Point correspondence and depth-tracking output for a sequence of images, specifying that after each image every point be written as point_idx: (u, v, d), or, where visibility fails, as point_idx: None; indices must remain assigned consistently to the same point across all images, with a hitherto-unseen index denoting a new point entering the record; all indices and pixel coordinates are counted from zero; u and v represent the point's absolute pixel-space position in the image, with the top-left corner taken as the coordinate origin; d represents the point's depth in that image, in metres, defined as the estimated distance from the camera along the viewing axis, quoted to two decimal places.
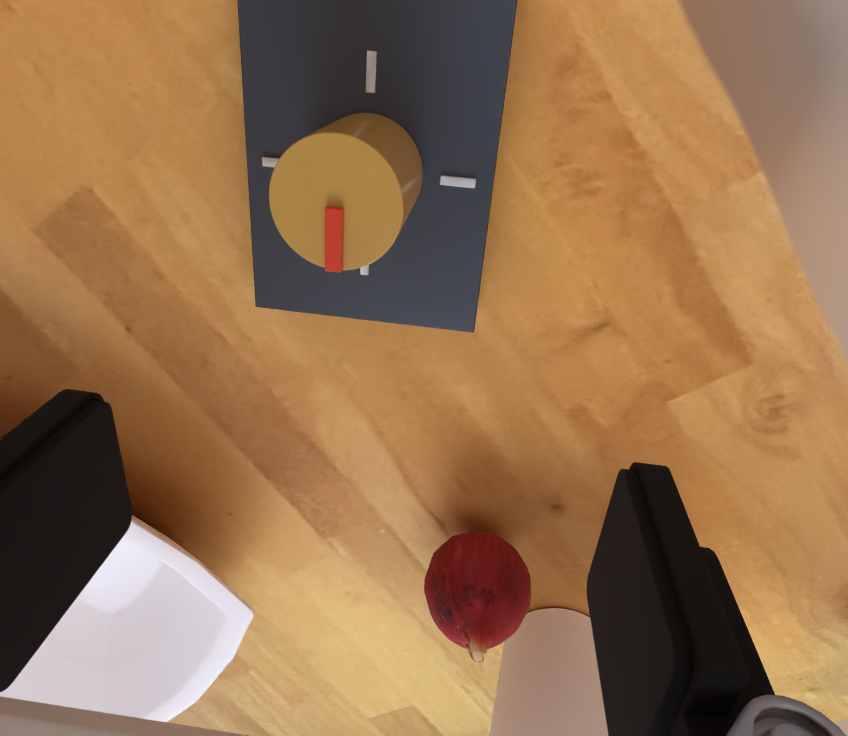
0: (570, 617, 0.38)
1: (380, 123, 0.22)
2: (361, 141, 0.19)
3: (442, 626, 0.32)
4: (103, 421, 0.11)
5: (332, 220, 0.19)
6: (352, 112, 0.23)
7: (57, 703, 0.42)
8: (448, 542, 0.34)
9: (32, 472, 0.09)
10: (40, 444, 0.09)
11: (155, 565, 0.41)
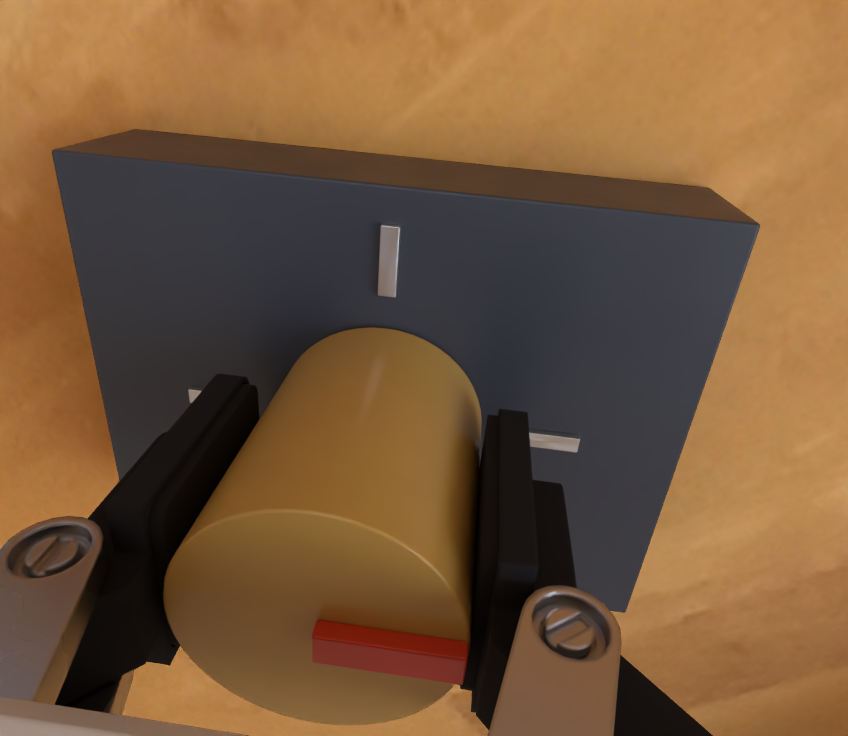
0: None
1: None
2: (169, 572, 0.08)
3: None
4: (252, 403, 0.12)
5: (338, 655, 0.08)
6: None
7: None
8: None
9: (213, 446, 0.10)
10: (213, 422, 0.10)
11: None
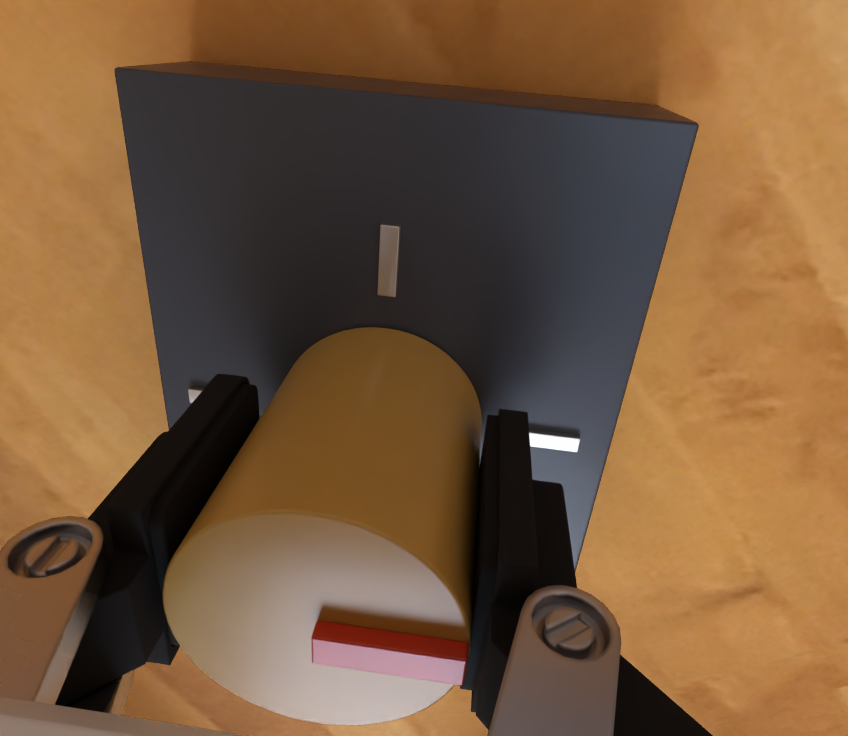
0: None
1: None
2: (168, 573, 0.08)
3: None
4: (253, 403, 0.11)
5: (338, 656, 0.08)
6: (352, 324, 0.12)
7: None
8: None
9: (213, 446, 0.10)
10: (214, 422, 0.10)
11: None
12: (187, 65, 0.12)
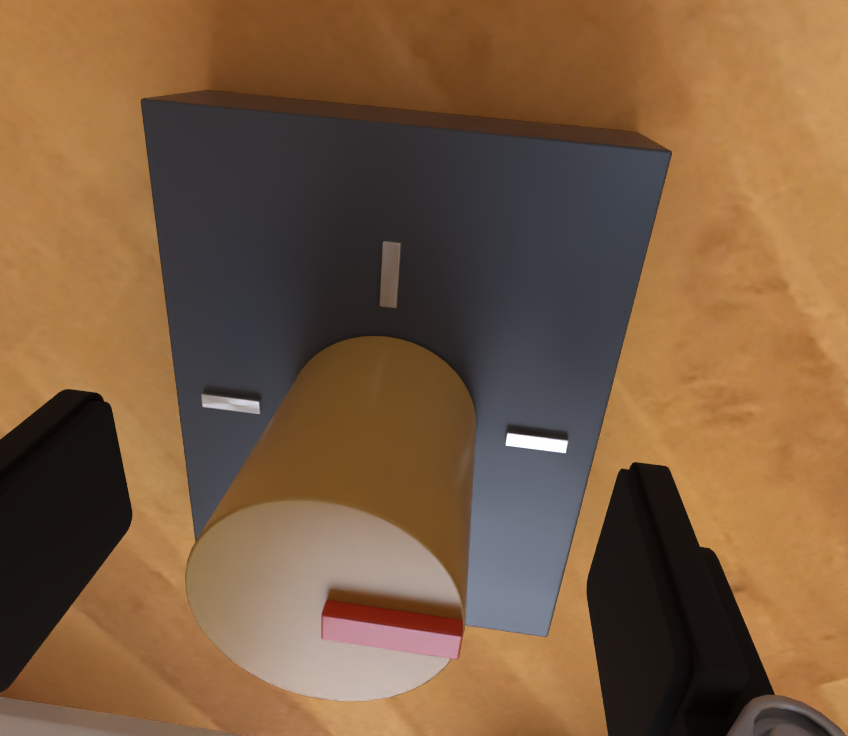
0: None
1: None
2: (192, 555, 0.09)
3: None
4: (103, 421, 0.11)
5: (345, 631, 0.09)
6: (356, 333, 0.13)
7: None
8: None
9: (32, 472, 0.09)
10: (40, 444, 0.09)
11: None
12: (205, 94, 0.13)
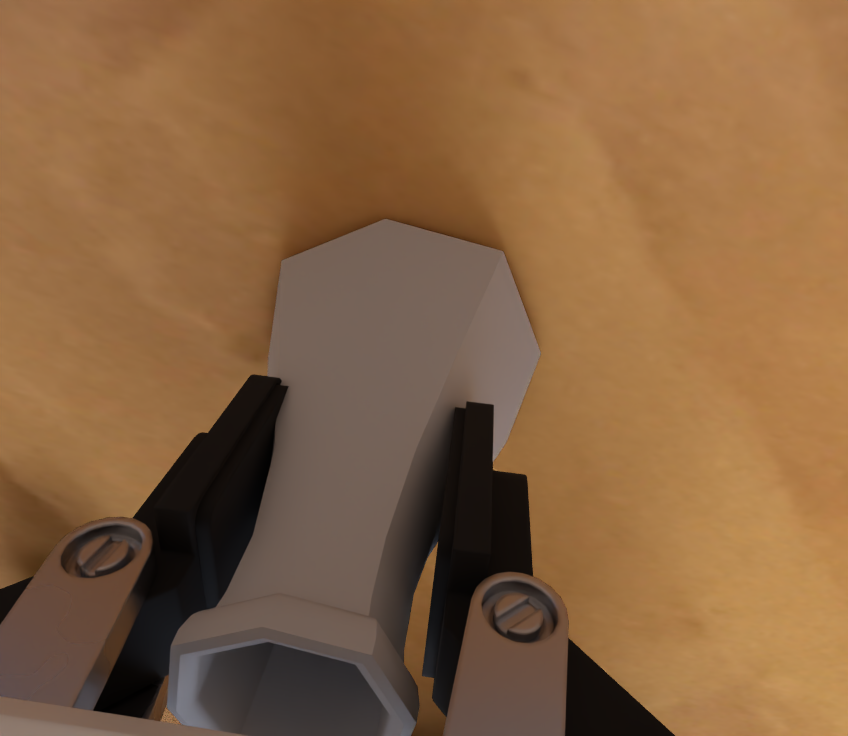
0: None
1: None
2: None
3: None
4: None
5: None
6: None
7: None
8: None
9: (252, 447, 0.10)
10: (252, 423, 0.10)
11: None
12: None
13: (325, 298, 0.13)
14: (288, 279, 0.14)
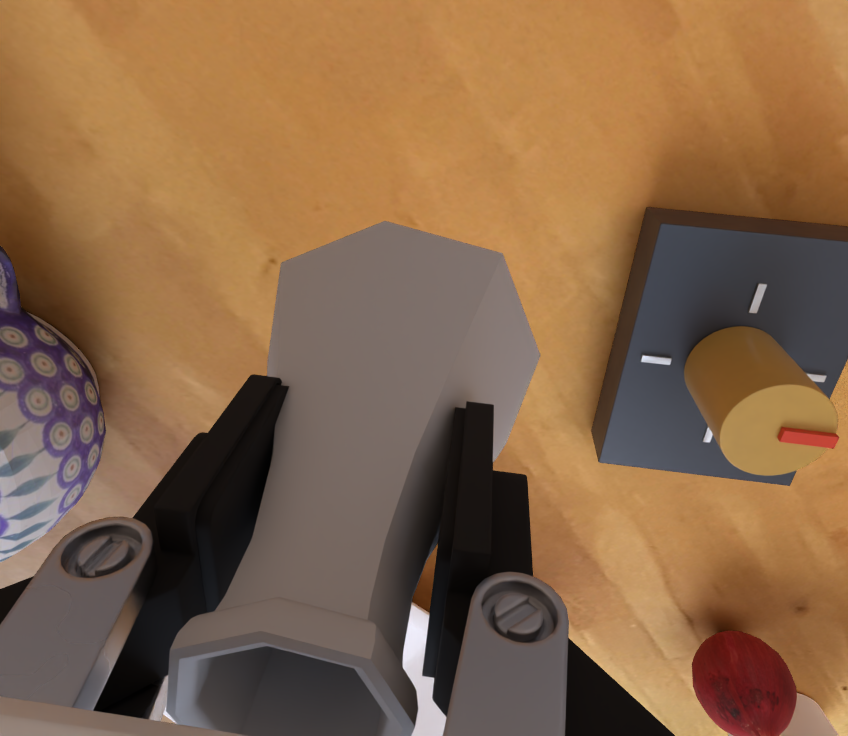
0: (798, 699, 0.43)
1: (702, 366, 0.28)
2: (732, 410, 0.24)
3: (725, 722, 0.37)
4: None
5: (791, 438, 0.24)
6: (730, 325, 0.28)
7: None
8: (716, 644, 0.39)
9: (252, 447, 0.10)
10: (251, 423, 0.10)
11: (414, 652, 0.45)
12: (663, 213, 0.28)
13: (325, 300, 0.13)
14: (288, 281, 0.14)
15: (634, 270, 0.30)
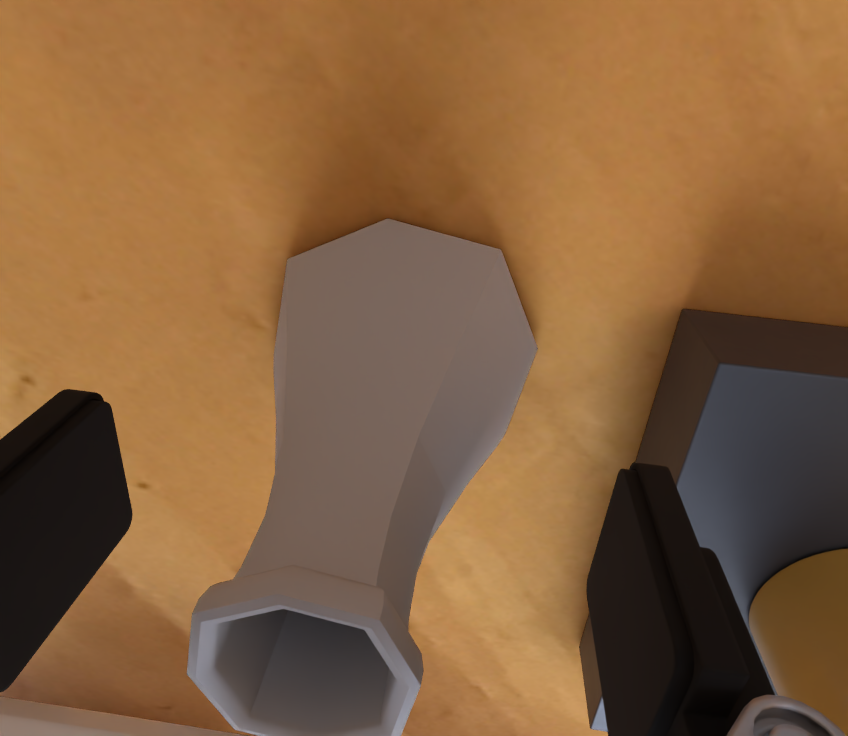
0: None
1: (796, 638, 0.14)
2: None
3: None
4: (103, 421, 0.11)
5: None
6: (846, 544, 0.15)
7: None
8: None
9: (32, 472, 0.09)
10: (40, 444, 0.09)
11: None
12: (717, 330, 0.14)
13: (331, 295, 0.14)
14: (294, 277, 0.15)
15: (657, 420, 0.16)
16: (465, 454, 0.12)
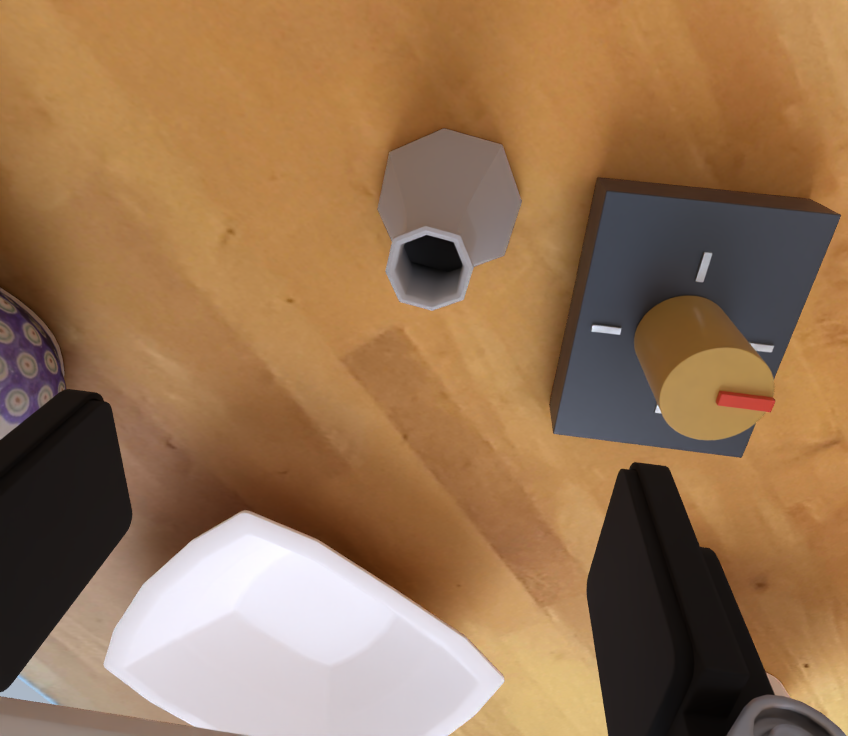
0: None
1: (648, 334, 0.28)
2: (671, 373, 0.24)
3: None
4: (103, 421, 0.11)
5: (728, 401, 0.24)
6: (678, 294, 0.29)
7: None
8: None
9: (32, 472, 0.09)
10: (40, 444, 0.09)
11: (381, 628, 0.46)
12: (611, 183, 0.28)
13: (418, 162, 0.28)
14: (395, 158, 0.29)
15: (586, 240, 0.30)
16: (485, 228, 0.26)
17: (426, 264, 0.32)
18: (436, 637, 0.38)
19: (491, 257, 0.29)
